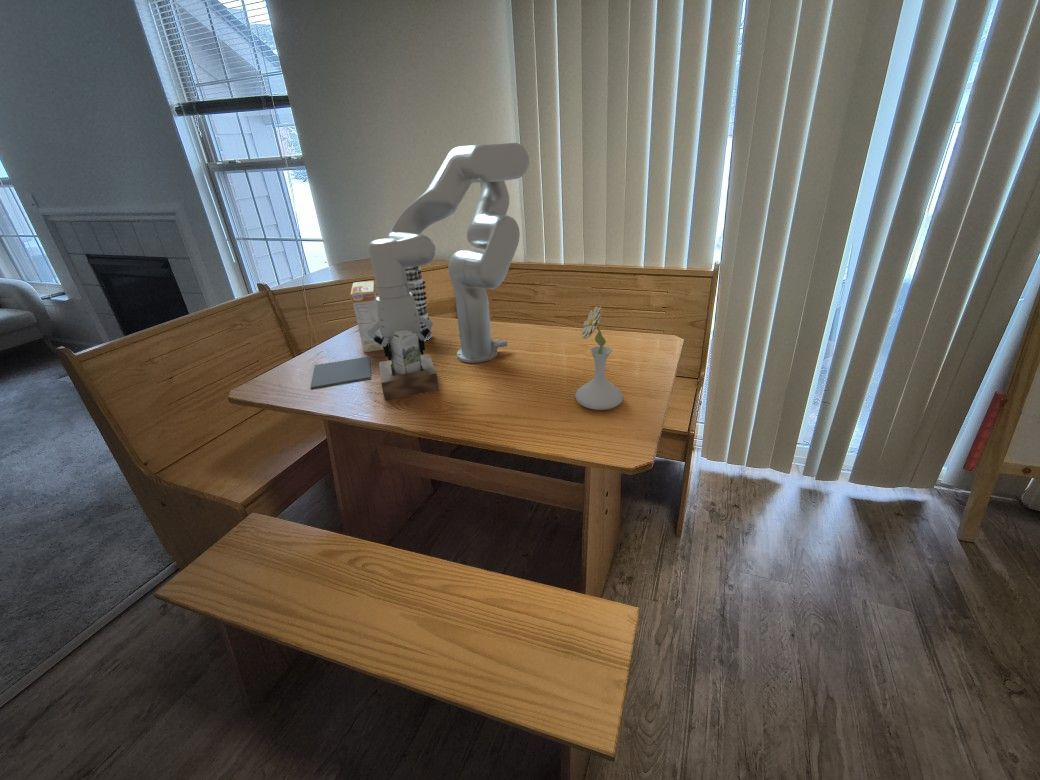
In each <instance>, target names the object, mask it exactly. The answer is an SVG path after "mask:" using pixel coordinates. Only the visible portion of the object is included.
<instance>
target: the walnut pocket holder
mask: <svg viewBox="0 0 1040 780" xmlns="http://www.w3.org/2000/svg"><path fill="white" fill-rule="evenodd" d="M420 356H421V363H422V371H419V372H413V373H408V374H402V375H396V376H394V374H393V367H392V361H391V360H390V361H389V360H385V361H379V362H378V366H379V374H380V375H379V376H380V384H381V387H382V392H383V398H384V401H388V400H394V399H399V398H405V397H409V396H415V394H416V395H421V394H420V393H422V394H426V392H427V393H433V392H438V391H440V389H439V387H440V386H439V380H438V374H437V371H436V368H435V366H434V364H433V363H434V362H433V361H432V358H431V355H430V354H429V353H428V354H424V355H421V354H420Z"/></svg>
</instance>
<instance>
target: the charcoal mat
mask: <svg viewBox="0 0 1040 780" xmlns="http://www.w3.org/2000/svg"><path fill="white" fill-rule="evenodd" d="M371 379H372V374H371V360H370V356H364V357H358V358H357V357H356V358H350V359H344V360H338V361H333V362H331V361H330V362H326V363H319V364H314V367H313V374H312V378H311V382H310V389H311V390H313V388H314V389H319V387H320V388H325V387H331V386H337V385H342V384H349V383H355V382H360V381H366V380H371Z"/></svg>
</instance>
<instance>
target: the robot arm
mask: <svg viewBox="0 0 1040 780" xmlns="http://www.w3.org/2000/svg"><path fill="white" fill-rule="evenodd" d="M529 165H530V158H529V154H528V151H527V150H526V148H525V147H524V146H523V145H522V144H520V143H518V142H508V143H506V142H505V143H494V144H493V143H492V144H471V145H469V144H468V145H460V146H456V147H455V146H454V148H452V149H450V151H449V152H448V153H447V155H446V156H445V158H444V160H443V162H442V164H441V166H440V167H439V168H438V170H437V172H436V173H435V176H434V177H433V179H432V180H431V182H430V183H429V185H428V187H427V189H425V192H423V193H422V194H421V195H420V196H418V197H417V198H416V199H415V200H414V201H413V202H412V203H411V204H410V205H408V206H407V207H406V208H405V209H404V210H402V212H401V214H400V215H399V216H398V217H397V219H396V220H395V222H394V224H393V225H392V226H391V228H390V230H389V232H388V234H387V237H384V238H378V239H374V240H372V241H370V242H369V244H368V251H369V252H368V253H369V258H370V262H371V266H372V272H373V277H374V283H375V285H376V290H377V291H376V292H377V295H378V296H377V298H376V309H377V316H378V322H377V323H376V324H375V325H374V326H373V327H372V328H371V329H369V330H368V332H367V334H368V335H369V336H370V337H371V338H372V339H373V340H374V341H375V342H377V343H378V344H380V345H382V347H383V349H384V350H383V353H384V354H383V355H384V358H388V361H390V360H391V355H390V349H389V343H388V340H389V338H390V337H394V333H395V331H411V332H412V333H416V336H417V337H418V340H419V348H420V355H425V354H424V351H426V346H425V344H426V343H425V342H424V339H425V337H426V336H427V334H428V333H429V331H431V329H432V327H433V325H434V323H433V321H432V320H430V319H429V320H428V319H426V318H424V317H422V316H419V315H418V311H417V307H416V303H415V300H414V297H413V294H412V293H410V292H409V291H410V290H412V289H415V288H414V284H409V283H408V282H407V277H406V271H405V268H406V267H413V266H418V267H421V266H422V267H423V266H426V265H427V264H429V263H431V262H432V261H433V260H434V259H435V256H436V245H435V242H434V241H433V239H431V238H430V237H428V236H426V235H424V234H422V233H423V232H424V231H425V230H426V229H427V228H429V227H430V226H431V225H433V224H435V223H437V222H440V221H442V220H444V219H447V218H448V217H450V216H451V215H453V214H454V213H455V212H456V211H457V209H458V207H459V205H460V204H461V202H462V200H463V199H464V197H465V195H466V193H467V191H468V190H469V188H470V187H471V185H472V184H474V183H477V184H478V183H479V185H480V194H479V198H478V201H477V204H476V207H475V209H474V212H473V214H472V217H471V219H470V221H469V224H468V226H467V230H466V239H467V242H468V243H469V245H470V246H472V247H474V248H476V249H480V250H481V251H480V250H475V249H474V250H473V249H460V250H457V251H456V252H454V253H453V254H452V255H451V257H449V261H448V265H447V266H448V267H447V268H448V274H449V277H450V281H451V284H452V288H453V293H454V297H455V298H454V300H455V306H456V315H457V316H456V317H457V323H458V332H459V333H458V334H459V340H460V343H459V344H460V349H458V351H456V358H457V359H458V360H459V361H461V362H464V363H470V364H478V363H485V362H489V361H491V360H493V359H495V358H496V357H497V355H498V348H504V347H505V348H506V347H508V341H507V340H502V339H501V338H497V339H493V338H492V327H491V317H490V305H489V304H490V303H489V296H488V292H487V290H492V289H493V290H494V289H496V288H498V287H499V286H501V284H503V282H504V280H505V278H506V276H507V273H508V271H509V268H510V266H511V264H512V261H513V259H514V257H515V253H516V251H517V249H518V245H519V244H520V243H519V242H520V234H521V233H520V228H519V224H518V222H517V220H515V219H514V218H513V217H511V216H509V215H507V213H508V210H509V207H510V195H509V194H510V193H509V190H508V187H507V185H506V184H507V183H506V182H505V181H511V180H512V181H513V180H517V179H520V178H522V177H523V176H524V175H525V174H526V173H527V171H528V169H529ZM482 250H485V251H482ZM420 322H421V323H424V324H426V327H425V328H424V329H423V331H422V332H421V331H420V330H421V326H420ZM379 328H380V331H381V334H382V336H383V337H382V338H380V337H379V336H377V335H376V334H375V332H376V331H377V330H378V329H379Z"/></svg>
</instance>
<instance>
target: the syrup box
mask: <svg viewBox="0 0 1040 780" xmlns="http://www.w3.org/2000/svg"><path fill="white" fill-rule="evenodd" d="M387 343H388V345H389V350H390V355H391V361H392V367H393V374H394V376H396V375H402V374H408V373H413V372H419V371H422V363H421V356H420V355H421V353H420V348H419V340H418V337H417V336H416V333H412V332H411V331H395V333H394V337H390V338H389V340H388V342H387Z"/></svg>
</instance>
